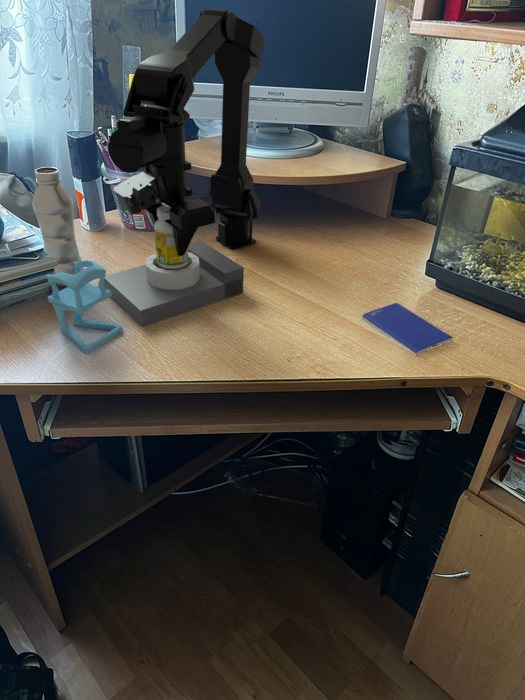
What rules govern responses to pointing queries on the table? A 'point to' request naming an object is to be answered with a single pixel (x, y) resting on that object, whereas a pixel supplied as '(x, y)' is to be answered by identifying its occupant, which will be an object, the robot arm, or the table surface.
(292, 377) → the table surface
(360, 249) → the table surface
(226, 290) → the grey ring holder base
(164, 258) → the supplement bottle
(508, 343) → the table surface
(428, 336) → the hard drive
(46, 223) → the plastic bottle
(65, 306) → the chair
